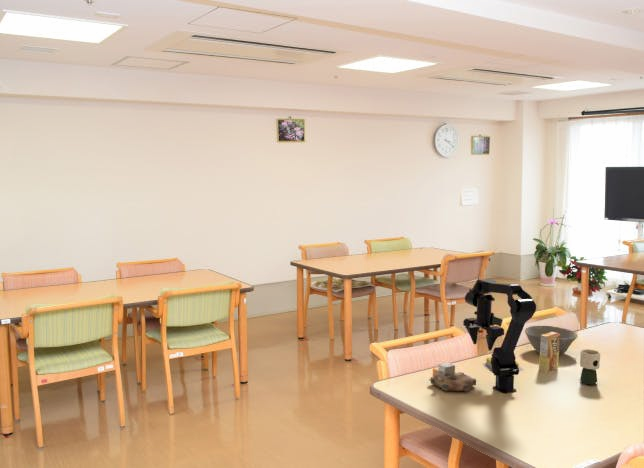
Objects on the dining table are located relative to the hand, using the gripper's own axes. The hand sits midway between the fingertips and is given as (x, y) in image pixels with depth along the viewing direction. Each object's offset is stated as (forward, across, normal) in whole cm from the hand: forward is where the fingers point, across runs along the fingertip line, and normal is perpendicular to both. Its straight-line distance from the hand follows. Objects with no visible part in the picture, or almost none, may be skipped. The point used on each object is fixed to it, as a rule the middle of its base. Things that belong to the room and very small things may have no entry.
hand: (482, 347), depth 248 cm
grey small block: (+9, 0, +18) cm, 20 cm away
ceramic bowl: (+12, +12, -50) cm, 53 cm away
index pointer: (+12, +6, +18) cm, 22 cm away
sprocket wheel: (+12, -5, +18) cm, 22 cm away
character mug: (+12, -24, -34) cm, 43 cm away
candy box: (+12, -5, -32) cm, 35 cm away
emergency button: (+13, +5, -16) cm, 21 cm away
